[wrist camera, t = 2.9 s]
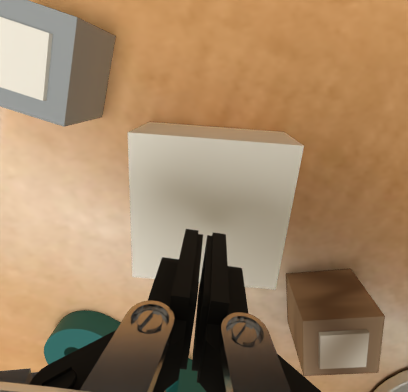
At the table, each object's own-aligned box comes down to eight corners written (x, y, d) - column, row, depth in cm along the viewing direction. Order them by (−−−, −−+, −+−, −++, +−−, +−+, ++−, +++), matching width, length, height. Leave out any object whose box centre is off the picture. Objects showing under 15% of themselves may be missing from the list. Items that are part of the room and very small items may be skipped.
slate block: (116, 36, 17) (73, 15, 12) (102, 117, 19) (60, 127, 14) (35, 8, 17) (-42, -24, 12) (29, 93, 19) (-40, 95, 14)
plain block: (283, 131, 19) (304, 145, 14) (263, 247, 22) (275, 289, 17) (150, 121, 19) (127, 132, 14) (150, 237, 22) (132, 276, 18)
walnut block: (350, 268, 22) (387, 319, 17) (347, 317, 24) (380, 376, 19) (285, 273, 23) (304, 325, 18) (287, 320, 24) (304, 380, 19)
